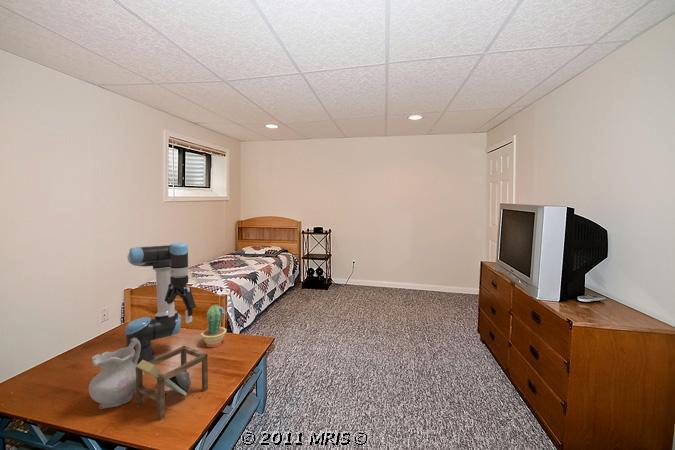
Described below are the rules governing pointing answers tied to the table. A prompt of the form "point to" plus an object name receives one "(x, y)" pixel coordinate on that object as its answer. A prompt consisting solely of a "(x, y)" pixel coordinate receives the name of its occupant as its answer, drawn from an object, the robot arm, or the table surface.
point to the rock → (182, 380)
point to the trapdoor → (158, 375)
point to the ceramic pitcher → (115, 376)
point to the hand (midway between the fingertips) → (179, 319)
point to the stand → (170, 376)
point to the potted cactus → (214, 327)
